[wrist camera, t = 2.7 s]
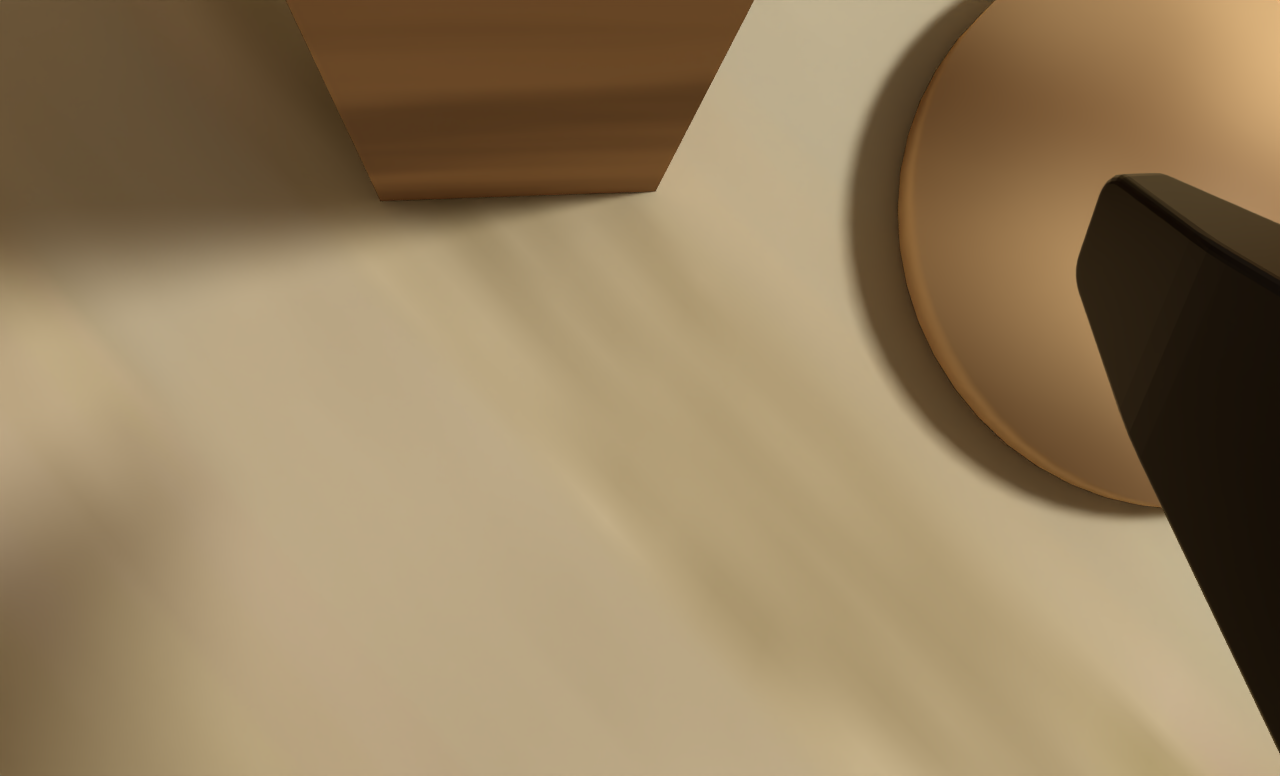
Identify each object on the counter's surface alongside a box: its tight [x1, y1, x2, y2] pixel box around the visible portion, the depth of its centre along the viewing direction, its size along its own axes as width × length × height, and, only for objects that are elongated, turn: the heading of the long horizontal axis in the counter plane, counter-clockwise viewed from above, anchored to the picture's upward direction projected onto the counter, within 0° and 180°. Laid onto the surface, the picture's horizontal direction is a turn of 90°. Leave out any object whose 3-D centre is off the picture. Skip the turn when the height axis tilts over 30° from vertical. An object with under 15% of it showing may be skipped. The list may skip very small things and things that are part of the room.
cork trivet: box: [898, 0, 1280, 507], centre depth 22 cm, size 11×11×1 cm
